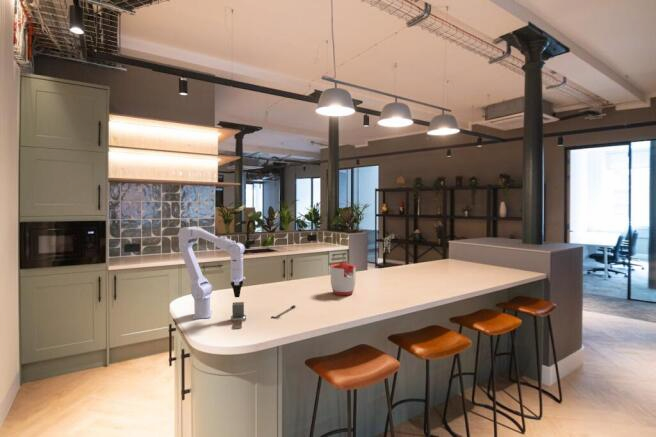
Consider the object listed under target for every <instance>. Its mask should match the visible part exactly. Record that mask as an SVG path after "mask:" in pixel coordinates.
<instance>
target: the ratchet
mask: <svg viewBox="0 0 656 437" xmlns="http://www.w3.org/2000/svg"><path fill="white" fill-rule="evenodd" d="M246 321H247V315H246V314H244V318H233V314H232V315H231V316H230V322H232V323H234V329H235V330H240V329H242V328H243V323H244V322H246Z"/></svg>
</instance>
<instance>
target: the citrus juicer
mask: <svg viewBox="0 0 656 437" xmlns="http://www.w3.org/2000/svg"><path fill="white" fill-rule="evenodd" d="M356 267H357V265H355V264H351V263H347V262H345V261H344V260H342V261H341V262H340V263H335V264H331V265H330V285H331V289H332V293H333V294H334V295H338V296H349V295H352V294H353V292H354V291H355V287H356Z"/></svg>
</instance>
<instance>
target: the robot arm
mask: <svg viewBox="0 0 656 437" xmlns="http://www.w3.org/2000/svg"><path fill="white" fill-rule="evenodd" d="M177 238H178V249H179V251H180V255H181V256H182V259H183V261H184V264H185V267H186V270H187V272H188V274H189V277H190V279H191V283H190V289H191V291H190V292H191V296H192V298H193V300H194V313H193V317H192V319H193V320H195V319H196V320H197V319H199V320H200V319H209V318H210V319H211V317H212V313H213V312H212V311H211V294H212V292H213V291H214V290H213V285H212V283H210V281H209V280H208V278H206V277H205V276H204V275H203V273H202V270H201V267H200V265H199V262H198V260H197V258H196V257H197V256H196V254H195V252H194V250H193V246H194V244H195V242H196V241H198V239H203V240H206V241H208V242H210V243H213V244H215V247H216V248H217V249H218V248H219V249H220V250H222V251H225V252H226V253H228V254H229V255H230V278H229V279H230V281H231V282H230V286H231V287H232V290H233V296H234V298H240V295H241V290H242V287H243V284H244V280H246V276H244V253H245V250H246V247H245V245H244V244H243V243H241V242H236V240H232V239H230V238H228V236H226V235H225V236H219V237H218V236H217V235H215V234H213V233H211V232H209V231H207V230H205V229H204V228H202V227H198V226H196V225H193V226H184V227H182V228H180V230H179V231H178V233H177Z"/></svg>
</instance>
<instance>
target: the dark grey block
mask: <svg viewBox="0 0 656 437" xmlns="http://www.w3.org/2000/svg"><path fill="white" fill-rule="evenodd" d="M231 309H232V310H231V311H232V315H233V318H244V315H245V302H244V301H240V302H237V301H236V302H232V308H231Z"/></svg>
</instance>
